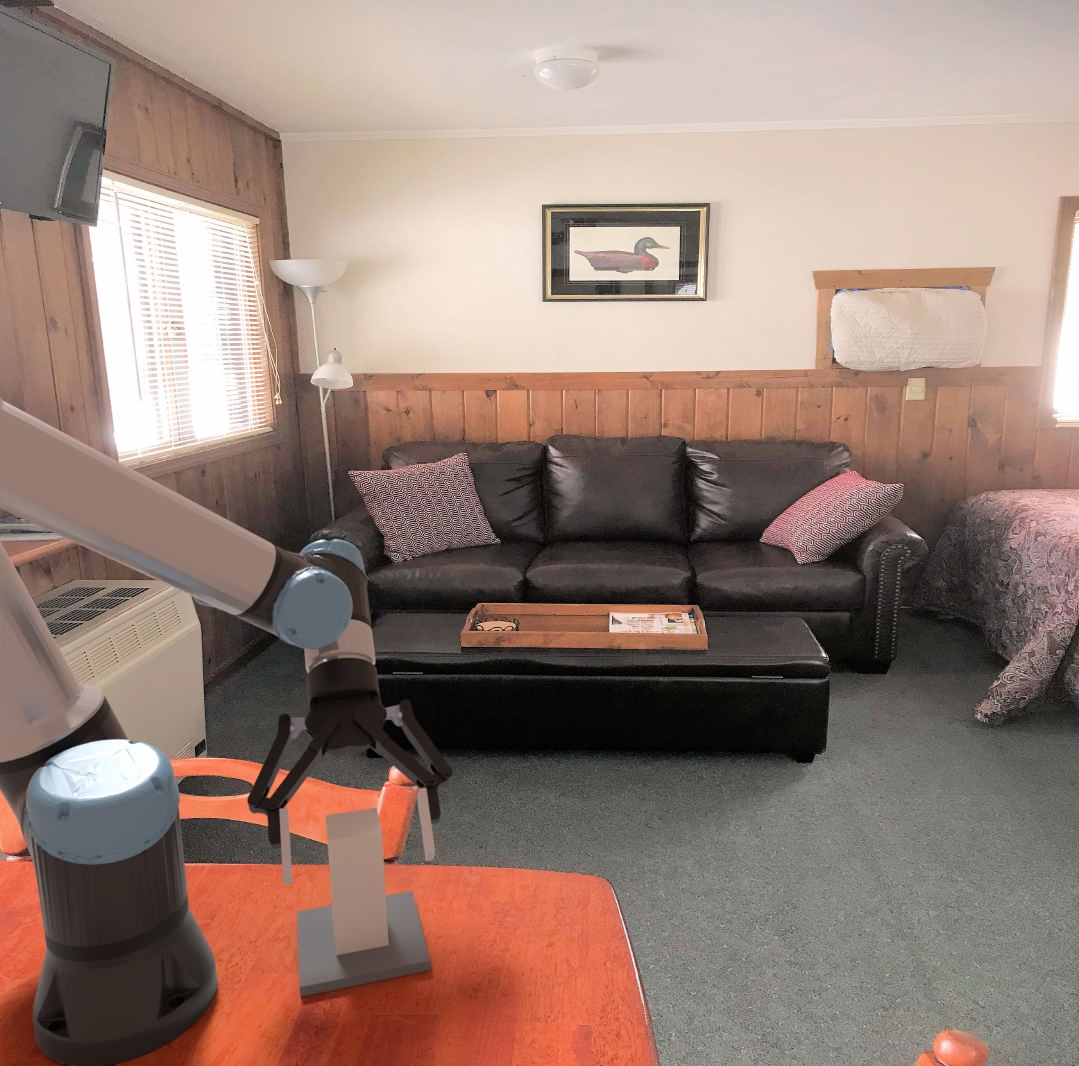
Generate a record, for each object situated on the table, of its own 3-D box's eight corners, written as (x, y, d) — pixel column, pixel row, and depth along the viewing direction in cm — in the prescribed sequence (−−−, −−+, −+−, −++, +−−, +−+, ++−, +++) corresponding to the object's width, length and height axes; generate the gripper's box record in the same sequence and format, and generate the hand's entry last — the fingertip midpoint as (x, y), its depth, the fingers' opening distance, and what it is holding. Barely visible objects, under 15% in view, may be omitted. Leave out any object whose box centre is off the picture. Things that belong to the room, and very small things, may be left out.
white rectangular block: (336, 955, 86) (327, 841, 83) (333, 924, 90) (325, 815, 88) (388, 945, 87) (381, 832, 85) (383, 915, 92) (376, 807, 89)
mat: (300, 997, 82) (299, 987, 81) (297, 920, 93) (296, 911, 93) (430, 970, 85) (430, 960, 85) (412, 899, 96) (412, 890, 96)
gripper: (450, 672, 104) (481, 857, 93) (224, 698, 97) (228, 900, 86) (457, 642, 98) (491, 836, 87) (217, 667, 91) (219, 881, 80)
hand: (360, 869), depth 86 cm, fingers open, 13 cm apart
